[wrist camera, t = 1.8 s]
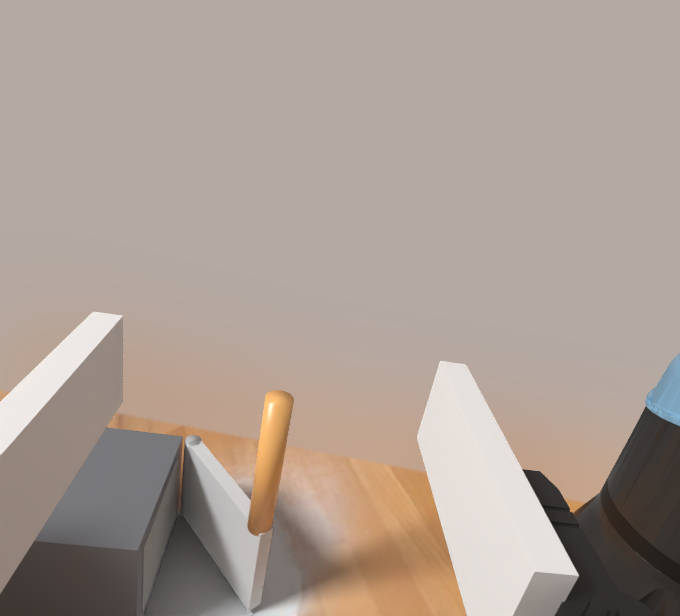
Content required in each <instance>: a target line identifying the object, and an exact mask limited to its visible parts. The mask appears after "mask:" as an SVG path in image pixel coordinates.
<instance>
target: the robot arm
mask: <svg viewBox="0 0 680 616" xmlns="http://www.w3.org/2000/svg"><path fill="white" fill-rule="evenodd" d="M122 402H123V316H120V315H113V314H106V313H99V312H92V314H90V315H89V316H88V317H87V318H86V319H85V320H84V321H83V322H82V323H81V324H80V325H79V326H78V327H77V328H76V329H75V330H74V331H73V332H72V333H71V334H70V335H69V336H68V337H67V338H66V339H64V341H62V342H61V343H60V344H59V345H58V346H57V347H56V348H55V349H54V350H53V351H52V352H51V353H50V354H49V355H48V356H47V357H46V358H45V359H44V360H43V361H42V362H41V363H40V364H39V365H38V366H37V367H36V368H35V369H34V370H33V371H32V372H31V373H29V374H28V376H27V377H25V378H24V379H23V380H22V381H21V382H20V383H19V384H18V385H17V386H16V387H15V388H14V389H13V390H12V391H11V392H10V393H9V394H8V395H7V396H6V397H5V398H4V399H3V400H2V401H1V402H0V594H1V592H2V591H3V589H4V587H5V586H6V584H7V583H8V581H9V580H10V578H11V576H12V575H13V573H14V572H15V570H16V569H17V567H18V565H19V564H20V562H21V561H22V559H23V558H24V556H25V554H26V553H27V551H28V550H29V548H30V547H31V545H32V543H33V542H34V540H35V539H36V537H37V536H38V534H39V532H40V531H41V529H42V528H43V526H44V525H45V523H46V521H47V520H48V518H49V517H50V515H51V514H52V512H53V510H54V509H55V507H56V506H57V504H58V503H59V501H60V499H61V498H62V496H63V495H64V493H65V492H66V490H67V488H68V487H69V485H70V484H71V482H72V481H73V479H74V477H75V476H76V474H77V473H78V471H79V470H80V468H81V466H82V465H83V463H84V462H85V460H86V459H87V457H88V455H89V454H90V452H91V451H92V449H93V448H94V446H95V444H96V443H97V441H98V440H99V438H100V437H101V435H102V433H103V432H104V430H105V429H106V427H107V425H108V424H109V422H110V421H111V419H112V418H113V416H114V414H115V413H116V411H117V410H118V408H119V407H120V405H121V403H122ZM645 402H646V407H645V409H644V411H643V413H642V415H641V417H640V419H639V421H638V423H637V424H636V427H635V428H634V430H633V432H632V434H631V436H630V437H629V439H628V441H627V443H626V445H625V447H624V448H623V450H622V452H621V454H620V456H619V458H618V460H617V462H616V463H615V465H614V467H613V469H612V471H611V473H610V474H609V477H608V479H607V480H606V482H605V484H604V486H603V488H602V490H601V491H600V493H599V494H597V495H596V496H595V497H593V498H592V499H591V500H589V501H588V502H587V503H585V504H584V505H583V506H582V507H580V508H579V509H578V510H577V511H575V512H574V513H572V512H570V508H569V506H568V505H567V503H566V501H565V500H564V498H563V496H562V495H561V493H560V491H559V490H558V489H557V487H556V486H554V485H553V484H552V483H551V482H550V481H549V480H548V479H547V478H546V477H545V476H544V475H543V474H542V473H541V472H540V471H532V470H524V469H522V468H521V467H520V465H519V463H518V461H517V459H516V457H515V456H514V453H513V452H512V450H511V448H510V446H509V444H508V443H507V440H506V439H505V437H504V435H503V433H502V431H501V429H500V427H499V425H498V424H497V422H496V420H495V418H494V416H493V414H492V412H491V411H490V409H489V407H488V405H487V403H486V402H485V399H484V398H483V396H482V394H481V392H480V390H479V388H478V386H477V384H476V383H475V381H474V379H473V377H472V375H471V373H470V372H469V370H468V368H467V366H466V365H465V364H459V363H452V362H445V361H440V363H439V367H438V370H437V373H436V376H435V380H434V383H433V386H432V390H431V393H430V396H429V400H428V403H427V406H426V409H425V412H424V416H423V419H422V422H421V426H420V429H419V432H418V436H417V440H418V443H419V447H420V450H421V454H422V457H423V461H424V464H425V468H426V472H427V475H428V479H429V482H430V486H431V489H432V493H433V496H434V500H435V504H436V507H437V511H438V514H439V518H440V521H441V525H442V528H443V532H444V536H445V539H446V543H447V546H448V550H449V553H450V557H451V560H452V564H453V568H454V571H455V575H456V578H457V582H458V585H459V589H460V592H461V596H462V600H463V603H464V607H465V610H466V614H467V616H680V354H679V355H677V356H676V357H675V358H674V359H673V360H672V361H671V363H670V364H669V366H668V368H667V369H666V371H665V373H664V374H663V376H662V378H661V379H660V381H659V383H658V384H657V386H656V387H655V388H654V389H653V390H651V391H650V392H649V393H648V395H647V397H646V400H645Z"/></svg>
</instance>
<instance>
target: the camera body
mask: <svg viewBox="0 0 680 616" xmlns="http://www.w3.org/2000/svg"><path fill="white" fill-rule="evenodd" d="M182 440H183V437H182V436H174V435H165V434H156V433H148V432H139V431H131V430H122V429H113V428H107V427H106V429H105V430H104V432H103V433H102V435H101V437H100V438H99V440H98V441H97V443H96V444H95V446H94V448H93V449H92V451H91V452H90V454H89V455H88V457H87V459H86V460H85V462H84V463H83V465H82V466H81V468H80V470H79V471H78V473H77V474H76V476H75V477H74V479H73V481H72V482H71V484H70V485H69V487H68V488H67V490H66V492H65V493H64V495H63V496H62V498H61V499H60V501H59V503H58V504H57V506H56V507H55V509H54V510H53V512H52V514H51V515H50V517H49V518H48V520H47V521H46V523H45V525H44V526H43V528H42V529H41V531H40V532H39V534H38V536H37V537H36V539H35V540H34V542H33V543H32V545H31V547H30V548H29V550H28V551H27V553H26V554H25V556H24V558H23V559H22V561H21V562H20V564H19V565H18V567H17V569H16V570H15V572H14V573H13V575H12V576H11V578H10V580H9V581H8V583H7V584H6V586H5V587H4V589H3V591H2V592H1V594H0V616H144V613H145V610H146V607H147V604H148V601H149V598H150V595H151V592H152V589H153V586H154V583H155V580H156V577H157V574H158V571H159V568H160V565H161V562H162V559H163V556H164V553H165V550H166V547H167V544H168V541H169V538H170V536H171V533H172V530H173V527H174V524H175V521H176V518H177V515H178V505H179V488H180V472H181V456H182Z"/></svg>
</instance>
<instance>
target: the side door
mask: <svg viewBox="0 0 680 616" xmlns="http://www.w3.org/2000/svg"><path fill="white" fill-rule="evenodd" d="M293 401H294V399H293V397H292V396H291V395H290V394H289V393H287V392H285V391H279V390H277V391H271V392H269V393H268V394H267V395H266V397H265V404H264V411H263V418H262V425H261V432H260V439H259V446H258V453H257V460H256V467H255V474H254V481H253V488H252V495H251V500H250V499H249V498H248V497H247V495H246V494H245V493H244V492H243V491H242V489H241V488H240V487H239V486H238V485H237V483H236V482H235V481H234V480H233V478H232V477H231V476H230V475H229V474H228V472H227V471H226V470H225V469H224V468H223V466H222V465H221V464H220V463H219V462H218V460H217V459H216V458H215V457H214V456H213V454H212V453H211V452H210V451H209V449H208V448H207V447H206V446H205V445H204V443H203V442H202V441H201V438H200V437H199V436H196V435H191V436H188V437H187V438H186V439H185V448H184V463H183V479H182V494H181V510H180V513H181V515H182V516H184V517H185V519H186V520H187V522H188V523H189V524H190V526H191V527H192V529H193V530H194V532H195V533H196V535H197V536H198V538H199V539H200V541H201V542H202V544H203V545H204V547H205V548H206V550H207V551H208V553H209V554H210V556H211V557H212V559H213V560H214V562H215V563H216V565H217V566H218V568H219V569H220V570H221V572H222V573H223V575H224V576H225V578H226V579H227V581H228V582H229V584H230V585H231V587H232V588H233V590H234V591H235V593H236V594H237V596H238V597H239V599H240V600H241V602H242V603H243V605H244V606H245V608H246V609H247V611H248V612H249V611H250V610H252V609H253V608H255V607H256V606H258V605H259V604H261V598H262V592H263V587H264V581H265V575H266V569H267V563H268V558H269V552H270V546H271V540H272V535H273V529H274V528H273V527H272V524H273V518H274V513H275V507H276V501H277V495H278V489H279V483H280V477H281V472H282V466H283V460H284V454H285V448H286V442H287V436H288V430H289V425H290V419H291V413H292V407H293Z"/></svg>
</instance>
